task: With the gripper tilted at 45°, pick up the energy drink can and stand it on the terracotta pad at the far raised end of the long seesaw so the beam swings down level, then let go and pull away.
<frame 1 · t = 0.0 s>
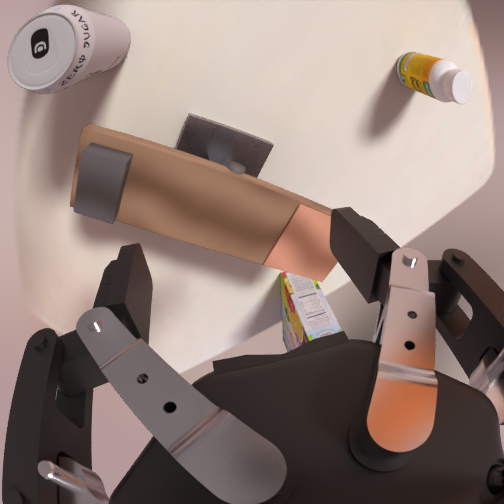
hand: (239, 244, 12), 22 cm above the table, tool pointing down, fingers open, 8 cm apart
energy drink can: (104, 44, 21), on the table
seesaw stand: (211, 173, 33), on the table
seesaw beam: (218, 213, 27), point 9 cm above the table, hinge at 7.0°
snack box: (294, 306, 54), on the table
supplement bottle: (409, 69, 28), on the table
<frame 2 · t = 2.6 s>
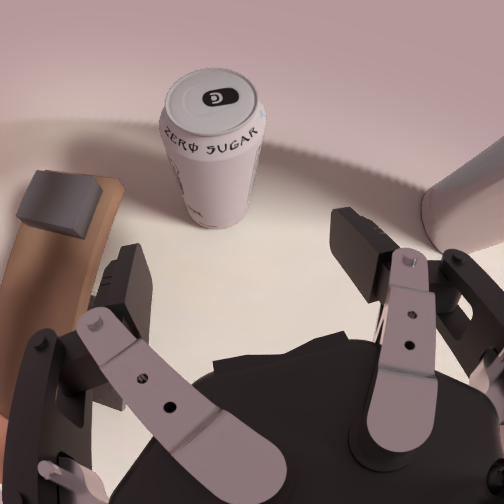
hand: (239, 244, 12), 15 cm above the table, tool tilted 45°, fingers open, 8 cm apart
energy drink can: (218, 203, 28), on the table
seesaw stand: (77, 343, 24), on the table
seesaw beam: (25, 348, 15), point 9 cm above the table, hinge at 7.0°
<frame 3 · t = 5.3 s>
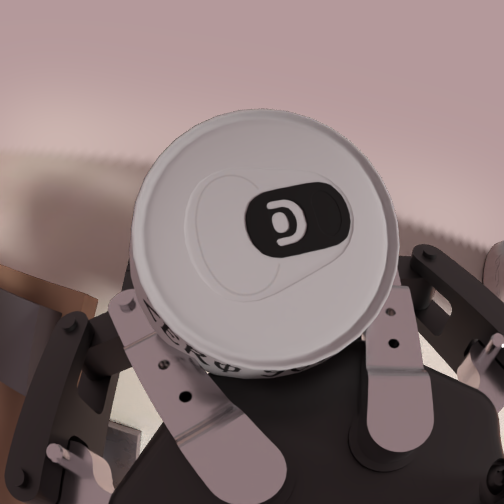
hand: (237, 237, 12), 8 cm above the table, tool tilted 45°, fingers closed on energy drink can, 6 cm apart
energy drink can: (238, 291, 20), on the table, touching gripper
seesaw stand: (69, 455, 15), on the table
seesaw beam: (12, 499, 7), point 9 cm above the table, hinge at 7.0°
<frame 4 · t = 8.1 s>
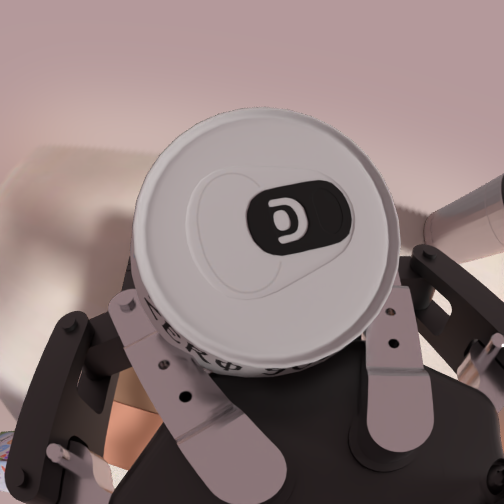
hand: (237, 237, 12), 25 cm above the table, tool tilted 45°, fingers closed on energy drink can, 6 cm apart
energy drink can: (239, 290, 20), point 17 cm above the table, touching gripper
seesaw beam: (155, 349, 26), point 9 cm above the table, hinge at 7.0°
snack box: (43, 442, 30), on the table
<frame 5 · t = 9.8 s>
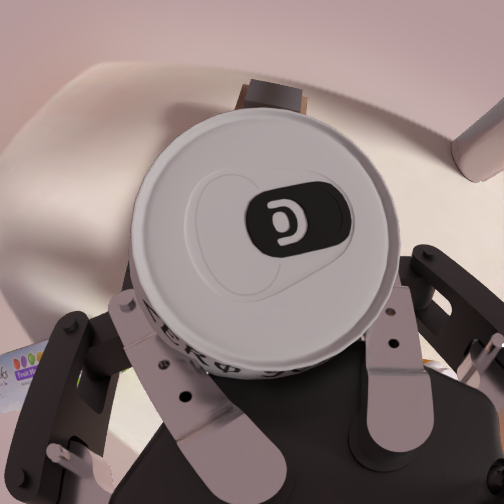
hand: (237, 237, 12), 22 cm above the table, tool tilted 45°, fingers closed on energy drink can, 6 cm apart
energy drink can: (238, 291, 20), point 14 cm above the table, touching gripper
seesaw beam: (256, 184, 27), point 9 cm above the table, hinge at 7.0°
snack box: (64, 365, 30), on the table
supplement bottle: (400, 374, 34), on the table
when the fingers open (19 cm above the table, at t = 10.9 s): energy drink can drops 1 cm, resting on seesaw beam.
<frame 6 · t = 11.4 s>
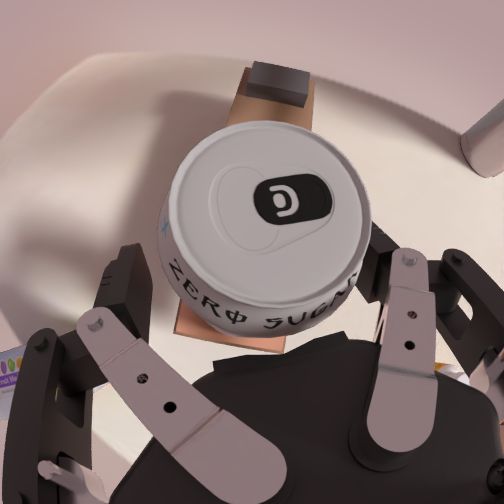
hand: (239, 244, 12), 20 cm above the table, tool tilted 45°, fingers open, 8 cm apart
energy drink can: (240, 295, 21), point 10 cm above the table, touching seesaw beam
seesaw beam: (260, 172, 24), point 9 cm above the table, hinge at 4.9°, touching energy drink can
snack box: (55, 370, 27), on the table
supplement bottle: (412, 379, 31), on the table
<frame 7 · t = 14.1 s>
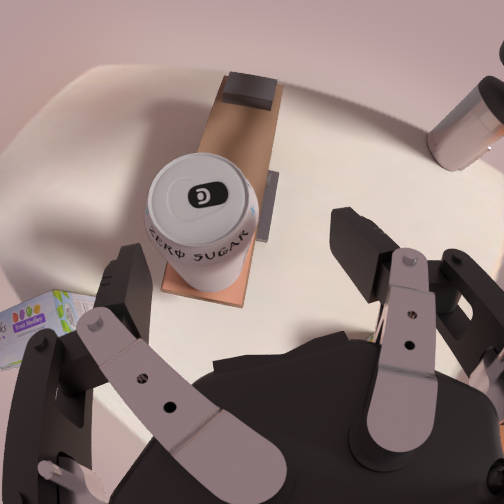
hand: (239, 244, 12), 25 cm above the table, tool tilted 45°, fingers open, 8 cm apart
energy drink can: (211, 262, 28), point 9 cm above the table, touching seesaw beam
seesaw stand: (229, 198, 39), on the table
seesaw beam: (230, 167, 31), point 9 cm above the table, hinge at 0.8°, touching energy drink can
snack box: (59, 337, 33), on the table
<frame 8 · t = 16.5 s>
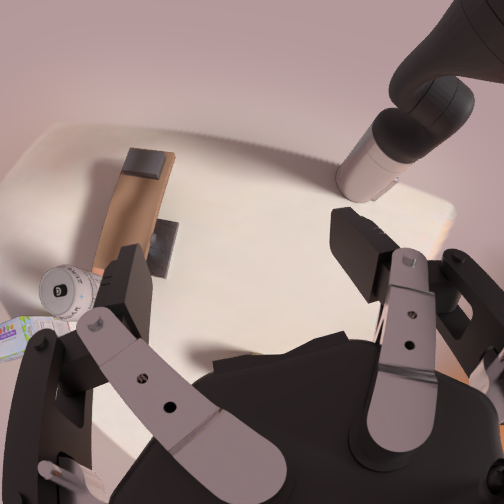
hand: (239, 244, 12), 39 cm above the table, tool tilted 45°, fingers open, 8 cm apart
energy drink can: (110, 300, 39), point 9 cm above the table, touching seesaw beam
seesaw stand: (141, 244, 50), on the table
seesaw beam: (125, 231, 42), point 9 cm above the table, hinge at 0.0°, touching energy drink can
snack box: (34, 341, 44), on the table
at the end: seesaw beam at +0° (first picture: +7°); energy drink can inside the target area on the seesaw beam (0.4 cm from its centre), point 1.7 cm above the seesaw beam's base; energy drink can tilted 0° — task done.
